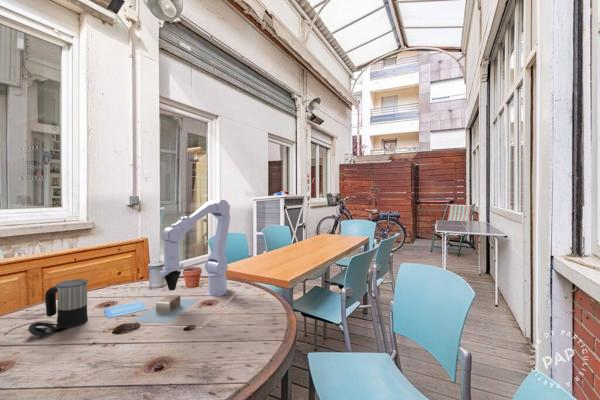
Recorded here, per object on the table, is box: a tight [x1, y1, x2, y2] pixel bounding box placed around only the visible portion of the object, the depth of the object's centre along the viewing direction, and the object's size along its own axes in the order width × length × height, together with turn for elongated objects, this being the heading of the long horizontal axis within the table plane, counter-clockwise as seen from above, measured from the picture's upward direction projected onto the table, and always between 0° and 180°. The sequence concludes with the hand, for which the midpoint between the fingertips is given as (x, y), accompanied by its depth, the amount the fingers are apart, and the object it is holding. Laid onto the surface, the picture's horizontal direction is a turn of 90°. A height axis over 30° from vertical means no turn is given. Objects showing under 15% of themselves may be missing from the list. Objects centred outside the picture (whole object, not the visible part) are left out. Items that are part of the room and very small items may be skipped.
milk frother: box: [28, 278, 89, 337], centre depth 104 cm, size 14×16×15 cm
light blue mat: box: [131, 298, 199, 324], centre depth 119 cm, size 24×14×1 cm, turn 173°
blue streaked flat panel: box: [103, 300, 149, 319], centre depth 119 cm, size 14×12×1 cm
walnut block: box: [155, 294, 181, 314], centre depth 119 cm, size 4×5×9 cm
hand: (172, 289), depth 122 cm, fingers closed
